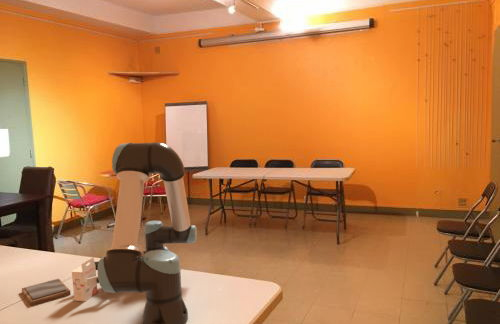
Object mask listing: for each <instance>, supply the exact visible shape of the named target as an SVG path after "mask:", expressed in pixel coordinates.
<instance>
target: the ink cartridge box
mask: <svg viewBox="0 0 500 324" xmlns="http://www.w3.org/2000/svg"><path fill="white" fill-rule="evenodd" d="M95 262H96V261H95V257H93V256H92V257H91V258H89V259H87V260H86V261H85V262H82V263H81V265H80V266H78V267H77V269H76V268H75V269H73V270H72V271H71V280H72V287H73V298H74V299H73V300H74V301H76V302H87V301H88V300H89V299H90V298H92V297H93V296H94V295H95V294H97V293H98V284H94V285H90V286H87V278H91V277H95V276H97V270H96V268H95Z"/></svg>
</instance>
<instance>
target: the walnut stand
mask: <svg viewBox="0 0 500 324" xmlns="http://www.w3.org/2000/svg"><path fill="white" fill-rule="evenodd" d="M21 293H22V295H24V297H25V299H26V300H27V301H28V303H29V305H30V306H31V307H32V306H35V305H39V304H42V303H47V302H48V301H53V300H56V299H59V298H65V297H67V296H70V295H71V289H69V288H68V287H67V286H66V284H65V283H64V282H62V280H60V278H56V279H52V280H49V281H44V282H41V283H37V284H32V285H29V286H26V287H22V288H21Z"/></svg>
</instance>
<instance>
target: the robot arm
mask: <svg viewBox="0 0 500 324" xmlns="http://www.w3.org/2000/svg"><path fill="white" fill-rule="evenodd" d="M111 168H112V172H113V173H114V174H115V175H116V178H117V179H118V180H119V186H118V187H119V189H118V196H117V203H116V210H115V211H116V213H115V220H114V227H113V236H112V243H111V244H112V245H111V247H109V248H107V250H106V255H105V256H103V257H100V259H99V261H94V262H95V268H96V271H97V275H96V276H95V277H91V278H87V286H90V285H94V284H97V285H98V284H99V286H100V289H101V290H102V291H103V292H105V293H110V294H111V293H113V294H121V293H122V294H123V293H145V296H146V297H145V298H146V301H145V305H144V308H143V313H142V316H141V319H142V324H184V323H185V324H186V323H187V322H188V319H189V312H188V308H187V306H186V303H185V300H184V298H183V296H182V279H181V278H182V277H181V270H182V268H181V264H180V263H181V262H180V258H179V257H180V256H178V255H177V254H176V253H175V252H173V251H170V250H169V248H168V247H167V246H165V245H169V244H185V245H186V244H194V243H196V242H197V238H198V228H197V226H196V225H193V224H191V217H190V212H189V207H188V201H187V193H186V187H185V182H184V178H185V175H186V171H185V165H184V163H183V161H182V159H181V158H180V156H179V155H178V153H177V152H176V151H175V150H174V149H173V148H172V147H171V146H169V145H167V144H166V143H163V142H160V141H159V142H157V141H155V142H127V143H121V144H120V143H119V145H117V147H115V149H114V151H113V154H112V157H111ZM150 174H151V175H152V174H153V175H155V174H159V177H160V180H161V181H163V185H164V189H165V190H164V191H165V195H166V199H167V205H168V210H169V214H170V220H171V225H163V222H162V221H161V220H149V221H147V222H145V224H144V242H145V243H144V244H145V250H144V251H142V250H141V249H140V248H139V242H140V241H139V239H140V228H141V220H142V211H143V210H142V209H143V208H142V207H143V198H144V189H145V183H147V182H148V181H149V180H150ZM77 268H78V267H77ZM77 268H75V269H77Z"/></svg>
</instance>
